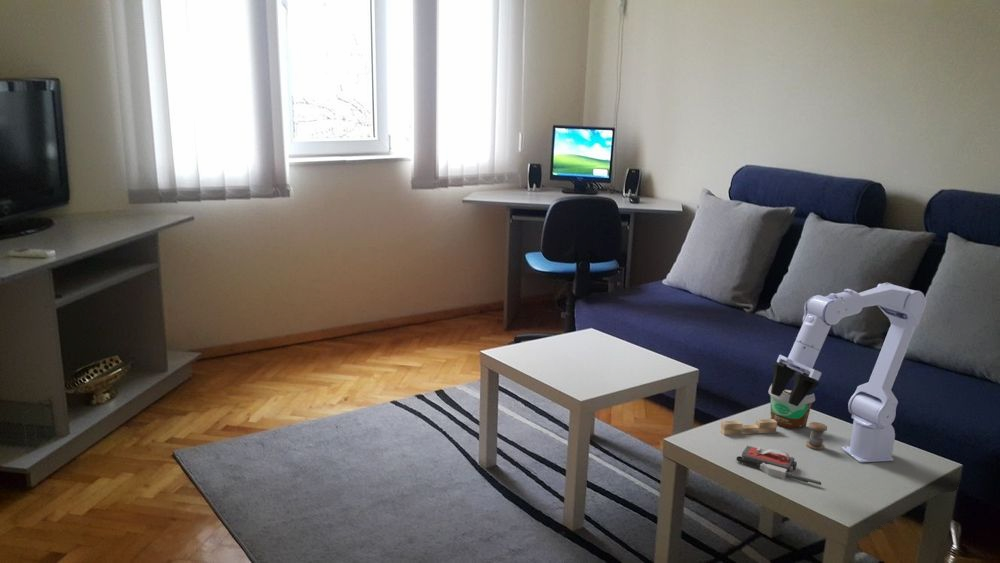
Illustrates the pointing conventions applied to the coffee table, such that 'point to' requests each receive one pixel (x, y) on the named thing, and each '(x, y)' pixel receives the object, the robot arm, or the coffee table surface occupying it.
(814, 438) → the bobbin
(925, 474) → the coffee table surface
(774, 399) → the food container
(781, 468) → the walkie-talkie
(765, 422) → the notched board
